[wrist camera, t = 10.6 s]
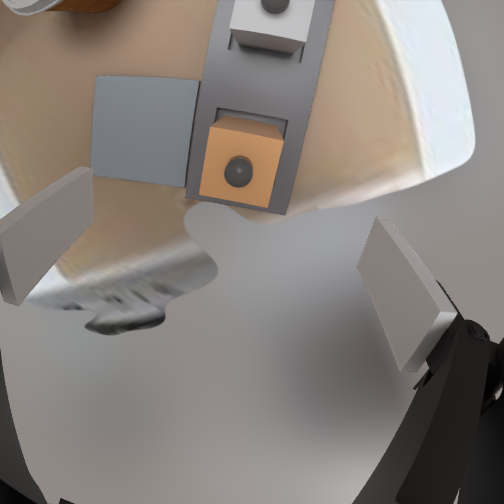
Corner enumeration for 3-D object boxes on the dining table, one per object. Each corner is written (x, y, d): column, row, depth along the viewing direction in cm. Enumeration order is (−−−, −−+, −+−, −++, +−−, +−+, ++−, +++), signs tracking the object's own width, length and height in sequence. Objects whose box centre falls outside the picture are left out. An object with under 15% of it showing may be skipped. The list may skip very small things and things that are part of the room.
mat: (92, 173, 31) (90, 175, 30) (98, 76, 26) (96, 76, 25) (185, 186, 32) (184, 187, 31) (200, 80, 26) (199, 80, 26)
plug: (215, 164, 30) (194, 202, 21) (225, 114, 27) (206, 129, 18) (265, 174, 30) (267, 216, 21) (277, 125, 28) (285, 145, 19)
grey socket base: (189, 191, 32) (158, 242, 22) (229, -31, 20) (213, -82, 10) (284, 207, 33) (293, 265, 23) (333, -12, 21) (368, -53, 11)
